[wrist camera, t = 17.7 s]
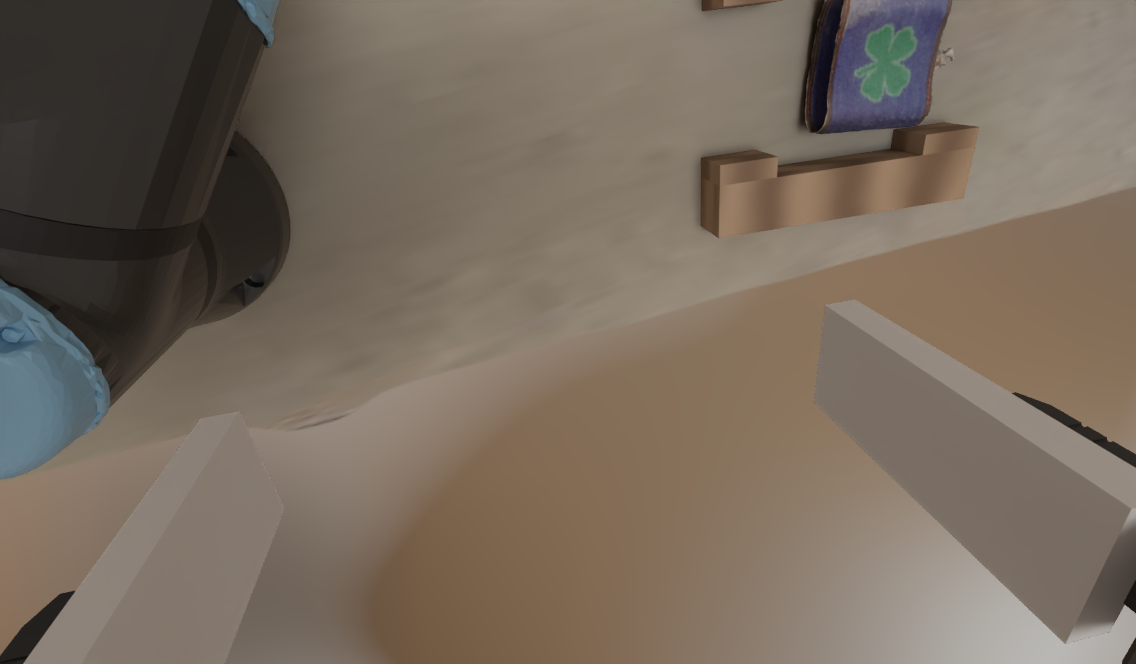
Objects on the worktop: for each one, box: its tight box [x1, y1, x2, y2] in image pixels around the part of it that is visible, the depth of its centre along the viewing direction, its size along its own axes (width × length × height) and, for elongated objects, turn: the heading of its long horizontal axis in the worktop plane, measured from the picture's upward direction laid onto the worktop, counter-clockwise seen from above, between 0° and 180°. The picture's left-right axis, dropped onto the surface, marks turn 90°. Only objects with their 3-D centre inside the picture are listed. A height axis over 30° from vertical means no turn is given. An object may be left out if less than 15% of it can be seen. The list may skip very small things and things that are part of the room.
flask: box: [805, 0, 955, 134], centre depth 41 cm, size 9×3×11 cm
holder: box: [701, 0, 979, 238], centre depth 40 cm, size 21×21×4 cm
